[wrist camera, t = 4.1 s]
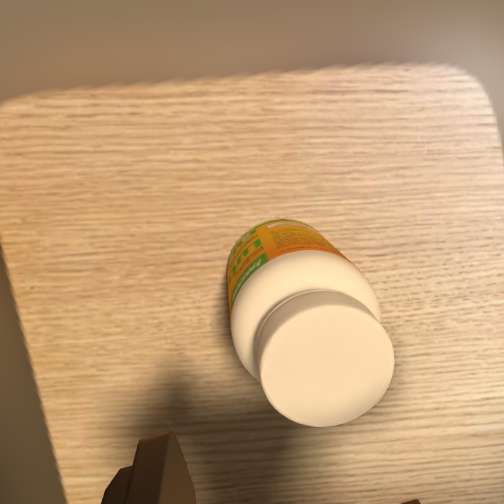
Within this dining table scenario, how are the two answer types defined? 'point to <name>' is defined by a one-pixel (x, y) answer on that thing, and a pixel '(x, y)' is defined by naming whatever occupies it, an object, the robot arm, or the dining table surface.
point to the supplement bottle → (307, 324)
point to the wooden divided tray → (413, 502)
